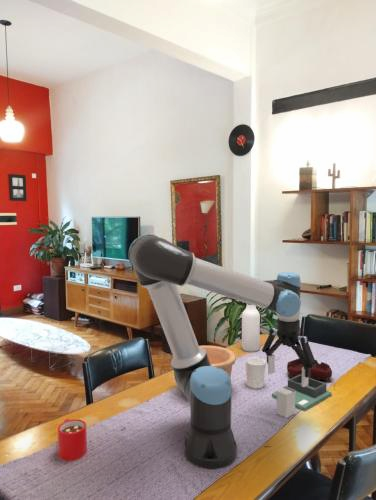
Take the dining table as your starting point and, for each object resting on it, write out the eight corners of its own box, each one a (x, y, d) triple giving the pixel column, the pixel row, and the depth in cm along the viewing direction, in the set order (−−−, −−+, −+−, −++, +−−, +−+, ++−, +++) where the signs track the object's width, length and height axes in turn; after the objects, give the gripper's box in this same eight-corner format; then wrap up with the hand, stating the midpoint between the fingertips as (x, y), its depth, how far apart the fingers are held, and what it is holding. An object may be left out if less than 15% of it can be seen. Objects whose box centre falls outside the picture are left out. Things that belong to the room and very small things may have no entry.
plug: (286, 417, 133) (286, 394, 132) (276, 413, 136) (277, 390, 135) (294, 412, 136) (295, 389, 135) (285, 408, 139) (285, 385, 138)
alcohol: (249, 345, 204) (250, 288, 201) (262, 349, 198) (264, 290, 195) (238, 348, 199) (238, 290, 196) (251, 353, 192) (252, 293, 189)
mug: (76, 434, 123) (76, 410, 122) (90, 454, 113) (90, 428, 112) (51, 443, 118) (50, 418, 118) (63, 464, 108) (62, 437, 108)
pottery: (172, 400, 145) (172, 363, 143) (186, 376, 166) (186, 343, 164) (231, 407, 139) (231, 368, 138) (238, 381, 161) (238, 347, 159)
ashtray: (325, 368, 175) (325, 357, 174) (333, 384, 159) (334, 372, 158) (284, 366, 177) (284, 355, 177) (288, 381, 161) (288, 370, 161)
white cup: (264, 381, 161) (264, 357, 160) (266, 390, 153) (266, 365, 152) (244, 380, 162) (245, 356, 161) (245, 389, 154) (246, 364, 153)
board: (304, 411, 137) (304, 399, 137) (271, 396, 148) (272, 385, 147) (331, 395, 149) (331, 384, 148) (299, 383, 159) (299, 373, 159)
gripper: (328, 324, 125) (326, 387, 128) (265, 309, 144) (265, 365, 147) (315, 329, 121) (314, 395, 123) (252, 313, 139) (252, 371, 142)
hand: (287, 379), depth 135 cm, fingers open, 13 cm apart
